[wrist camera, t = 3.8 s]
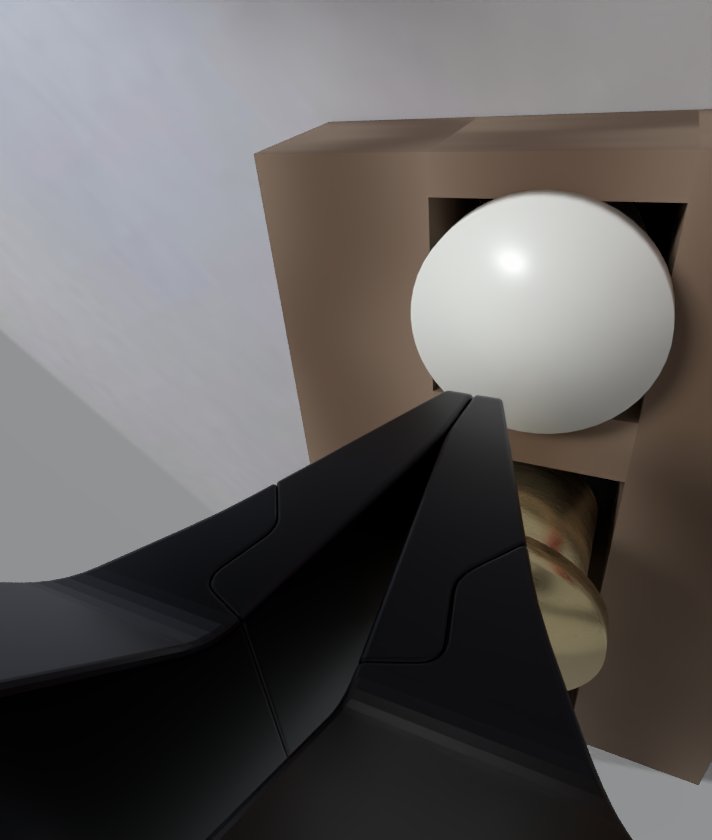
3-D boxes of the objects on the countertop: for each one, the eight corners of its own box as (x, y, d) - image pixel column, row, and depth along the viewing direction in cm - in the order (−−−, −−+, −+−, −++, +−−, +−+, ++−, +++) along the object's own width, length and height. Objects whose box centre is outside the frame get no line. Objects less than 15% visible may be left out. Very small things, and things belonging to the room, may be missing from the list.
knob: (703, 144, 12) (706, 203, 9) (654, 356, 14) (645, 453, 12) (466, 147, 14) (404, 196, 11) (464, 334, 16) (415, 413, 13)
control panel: (951, 101, 10) (1037, 145, 7) (698, 683, 20) (698, 785, 18) (329, 121, 15) (253, 153, 12) (380, 586, 25) (345, 655, 23)
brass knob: (639, 450, 13) (625, 582, 11) (608, 586, 16) (589, 720, 13) (438, 415, 15) (379, 518, 12) (441, 542, 18) (392, 651, 15)
